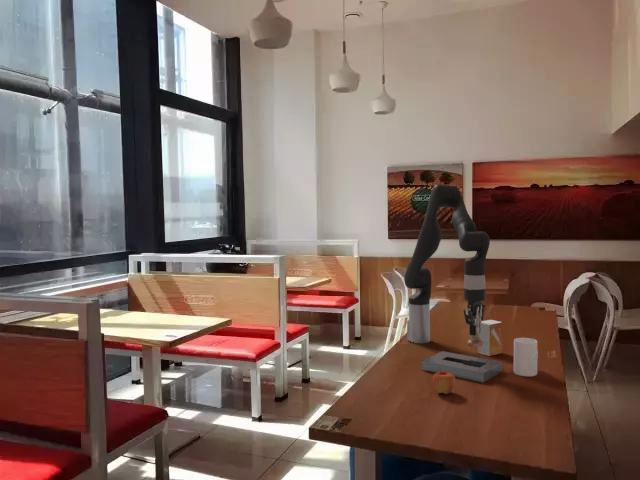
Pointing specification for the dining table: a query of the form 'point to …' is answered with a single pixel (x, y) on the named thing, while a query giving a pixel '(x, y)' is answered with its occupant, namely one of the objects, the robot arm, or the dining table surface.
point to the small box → (490, 337)
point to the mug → (525, 356)
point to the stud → (475, 339)
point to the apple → (444, 382)
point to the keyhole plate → (463, 366)
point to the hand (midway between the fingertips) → (474, 334)
